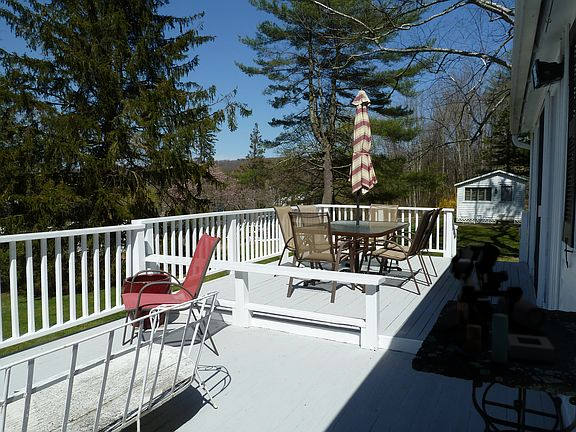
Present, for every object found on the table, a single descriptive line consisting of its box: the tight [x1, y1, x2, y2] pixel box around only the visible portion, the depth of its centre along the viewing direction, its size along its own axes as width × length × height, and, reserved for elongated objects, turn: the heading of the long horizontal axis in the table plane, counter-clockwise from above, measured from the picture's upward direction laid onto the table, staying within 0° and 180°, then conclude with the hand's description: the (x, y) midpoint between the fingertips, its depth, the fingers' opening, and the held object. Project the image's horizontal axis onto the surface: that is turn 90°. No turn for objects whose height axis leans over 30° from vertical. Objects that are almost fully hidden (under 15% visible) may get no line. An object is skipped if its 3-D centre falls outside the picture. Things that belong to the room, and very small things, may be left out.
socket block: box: [508, 333, 556, 363], centre depth 144 cm, size 12×12×4 cm
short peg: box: [466, 324, 482, 353], centre depth 147 cm, size 4×4×8 cm
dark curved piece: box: [497, 297, 548, 330], centre depth 176 cm, size 23×9×10 cm, turn 179°
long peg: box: [491, 313, 509, 364], centre depth 138 cm, size 4×4×14 cm
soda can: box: [456, 293, 468, 329], centre depth 174 cm, size 7×7×12 cm
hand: (496, 316), depth 141 cm, fingers open, 9 cm apart
